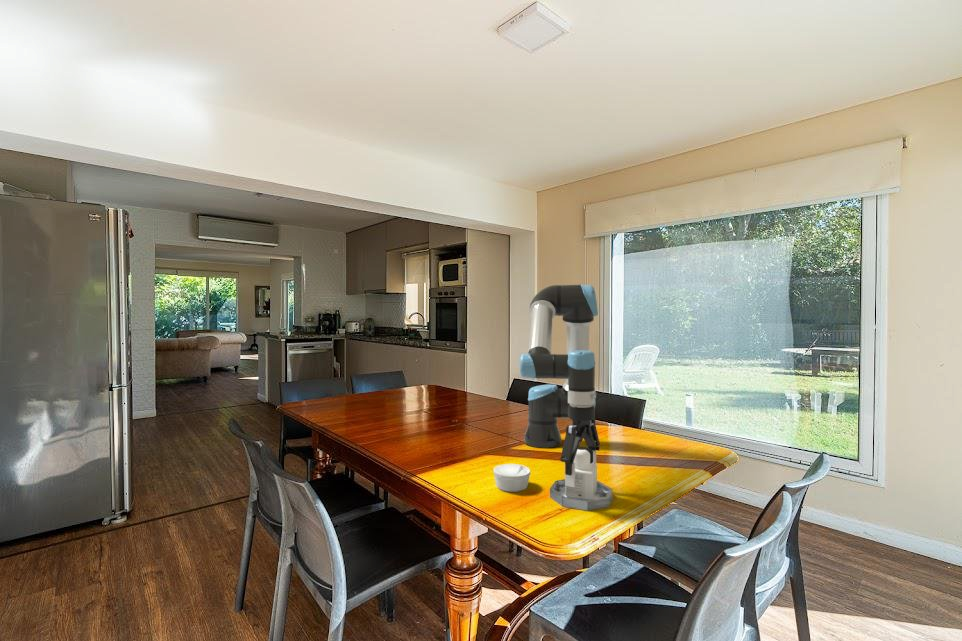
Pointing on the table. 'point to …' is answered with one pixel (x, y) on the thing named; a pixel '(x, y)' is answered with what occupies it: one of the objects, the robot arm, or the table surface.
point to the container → (583, 475)
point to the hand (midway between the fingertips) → (581, 478)
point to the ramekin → (511, 477)
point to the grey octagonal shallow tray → (599, 500)
